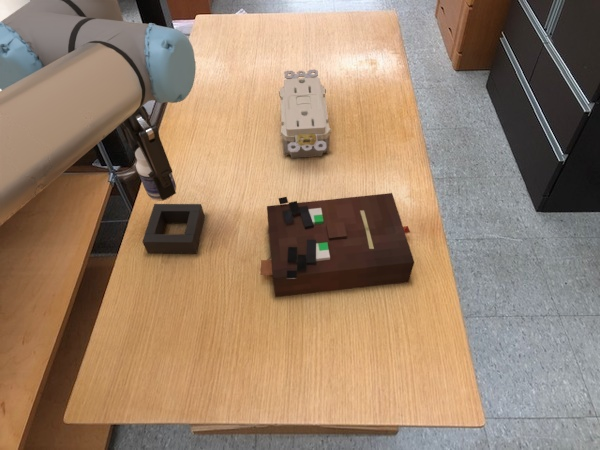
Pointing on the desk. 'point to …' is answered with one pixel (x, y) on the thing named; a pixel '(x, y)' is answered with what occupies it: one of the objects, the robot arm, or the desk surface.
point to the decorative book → (336, 245)
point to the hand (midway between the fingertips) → (160, 186)
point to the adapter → (174, 242)
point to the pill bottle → (148, 182)
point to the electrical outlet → (304, 115)
